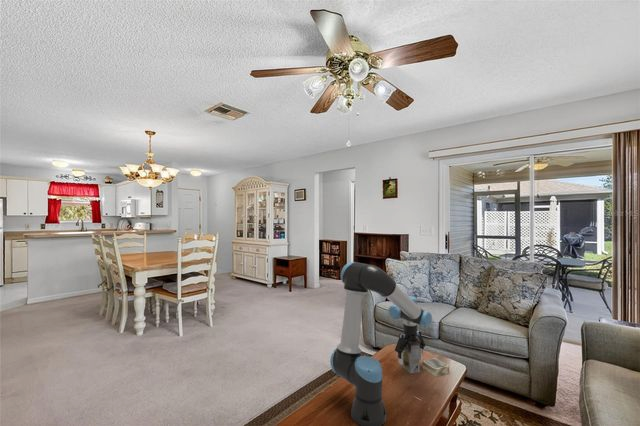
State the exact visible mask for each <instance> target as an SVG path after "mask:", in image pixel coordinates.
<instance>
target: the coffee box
mask: <svg viewBox="0 0 640 426" xmlns="http://www.w3.org/2000/svg"><path fill="white" fill-rule="evenodd" d="M402 353H403V365H401V367H402V368H403V369H405V370H406V371H407V372H408V373H409V374H417V373H420V371H421V370H420V369H421V367H420V365H421V363H420V361H421V360H420V343H418V342H416V341H415V340H414V341H410V342H408V343H407V344H406V346H405V348H404V350H403V351H402Z"/></svg>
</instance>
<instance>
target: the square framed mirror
mask: <svg viewBox="0 0 640 426" xmlns="http://www.w3.org/2000/svg"><path fill="white" fill-rule="evenodd" d="M421 361H422V369H423V370H424V371H426V372H427V373H429V374H430V375H432V376H434V377H435V378H436V377H441V376H443V375H448V374H450V365H448V364H447V363H445V362H443V361H442V360H441V359H439V358H436V357H434V358H431V359H426V360H421Z"/></svg>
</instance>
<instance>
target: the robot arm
mask: <svg viewBox="0 0 640 426" xmlns="http://www.w3.org/2000/svg"><path fill="white" fill-rule="evenodd" d="M340 280H341V281H342V283H343V289H344V291H345V292H346V295H345V303H344V309H343V318H342V319H343V321H342V327H341V329H342V330H341V336H340V337H341V339H340V342H339V343H338V344H337V345H336V348H335V349H334V350H333V353H331V356H330V361H329V362H330V368H331V369H332V372H333V373H334V374H336V375H337V376H338V377H339V378H342V379H343V380H345V381H346V382H348V383H350V384H351V385H352V386H354V397H353V401H352V405H351V408H350V416H351V419H352V420H353V422H354V423H355V424H357V425H359V426H383V425H384V424H385V423H386V421H387V410H386V407H385V404H384V401H383V369H382V365H381V363H380V362H379V360H377V359H376V358H374V357H372V356H367V355H362V349H361V347H359V345H360V336H361V327H362V317H363V306H364V299H365V296H366V295H367V294H368V292H369V291H370V292H374V293H377V294H378V295H380V296H381V297H383V298H386V299H387V300H389V301H390V302H391V303H392V304H391V305H390V306H389V308H388V314H389V316H390V317H391V318H392V319H393V320H399V319H401V320H403V333H399V337H398V340H397V343H396V345H395V349H394V351H395V353H397V358H398V364H399V365H400V366H402V365H403V353H402V351H403V350H404V348H405V346H406V344H407V343H408V342H410V341H414V340H415V341H416V342H418V343H420V361H423V354H424V353H423V350H424V349H425V347H426V343H425V341H424V338H423V336H422V331H420V330H419V329H418V325H420V326H423V327H429V326H430V325H431V324H432V321H433V315H432V313H431V312H430V311H427V310H425V309H422V308H421V307H420V306H419V305H418V299H417V297H415V296H411V295H407V294H406V292H404V290H402V289H401V288H400V287H399V286H398V285H397V282H396V280H395V279H394V278H393V277H392V276H391V275H389V273H387V272H385V270H383V269H382V268H380V267H378V266H377V265H374V264H367V263H361V262H357V261H349V262H348V263H346V264H345V265H344V266H343V267H342V269H341V271H340Z"/></svg>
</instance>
